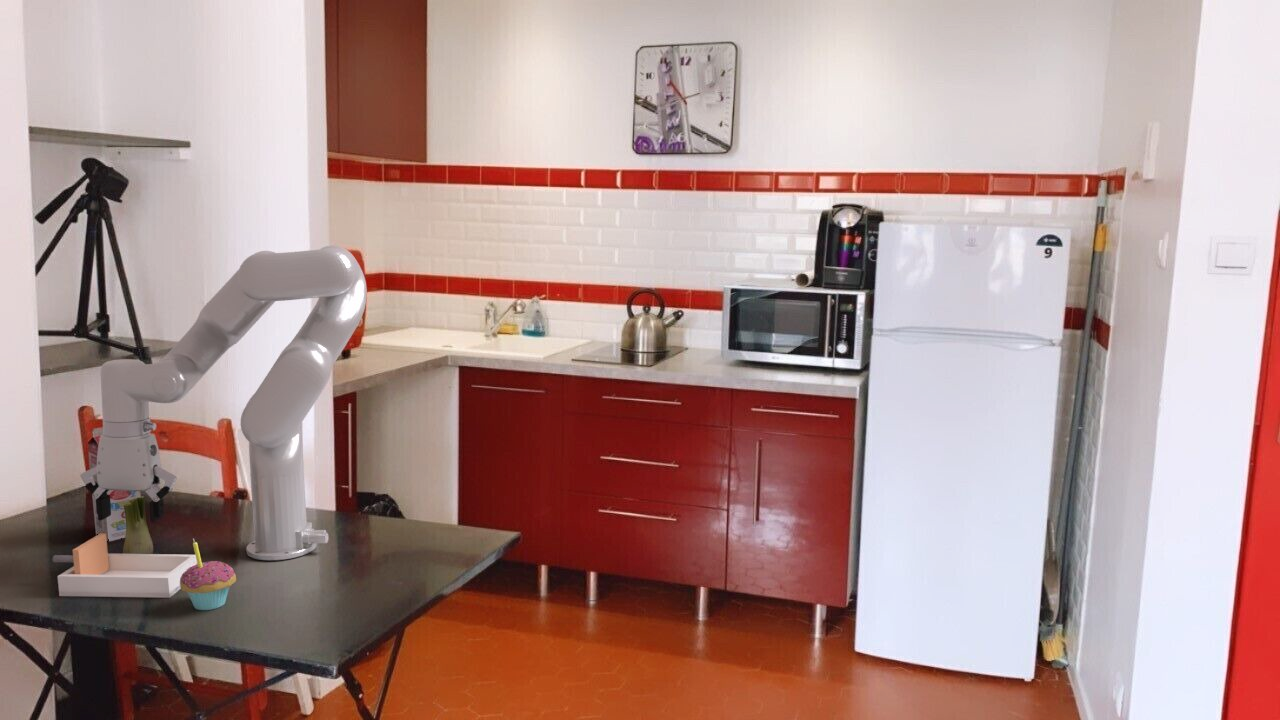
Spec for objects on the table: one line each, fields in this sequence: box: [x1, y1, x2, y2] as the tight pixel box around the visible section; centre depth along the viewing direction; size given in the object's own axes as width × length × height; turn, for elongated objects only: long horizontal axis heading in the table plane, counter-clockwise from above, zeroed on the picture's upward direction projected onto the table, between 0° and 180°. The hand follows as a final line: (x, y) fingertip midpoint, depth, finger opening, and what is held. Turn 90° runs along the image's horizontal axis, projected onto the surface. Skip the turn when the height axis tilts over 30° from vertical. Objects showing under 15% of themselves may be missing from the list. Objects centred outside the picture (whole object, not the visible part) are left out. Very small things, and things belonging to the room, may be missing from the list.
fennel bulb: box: [122, 495, 154, 554], centre depth 187 cm, size 6×5×12 cm
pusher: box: [52, 533, 109, 575], centre depth 177 cm, size 7×8×7 cm
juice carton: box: [87, 426, 142, 542], centre depth 202 cm, size 7×7×22 cm
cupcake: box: [180, 538, 237, 611], centre depth 168 cm, size 9×8×12 cm
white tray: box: [57, 553, 197, 599], centre depth 177 cm, size 19×11×4 cm, turn 88°
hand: (130, 519), depth 187 cm, fingers open, 9 cm apart
